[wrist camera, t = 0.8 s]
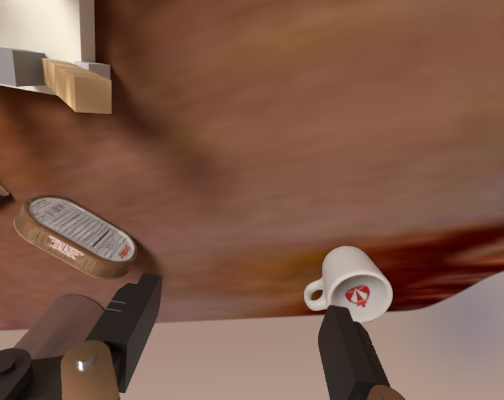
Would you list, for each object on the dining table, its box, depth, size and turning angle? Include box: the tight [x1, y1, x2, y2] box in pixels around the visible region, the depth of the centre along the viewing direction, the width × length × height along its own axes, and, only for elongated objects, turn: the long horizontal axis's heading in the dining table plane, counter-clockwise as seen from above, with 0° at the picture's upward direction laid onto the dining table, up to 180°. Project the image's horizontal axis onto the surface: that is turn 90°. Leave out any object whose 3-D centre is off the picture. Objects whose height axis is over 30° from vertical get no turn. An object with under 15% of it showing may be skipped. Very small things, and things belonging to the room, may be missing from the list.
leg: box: [42, 58, 112, 114], centre depth 27 cm, size 2×2×15 cm
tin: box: [14, 195, 138, 280], centre depth 39 cm, size 15×3×8 cm, turn 54°
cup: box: [304, 246, 393, 323], centre depth 41 cm, size 11×8×8 cm
